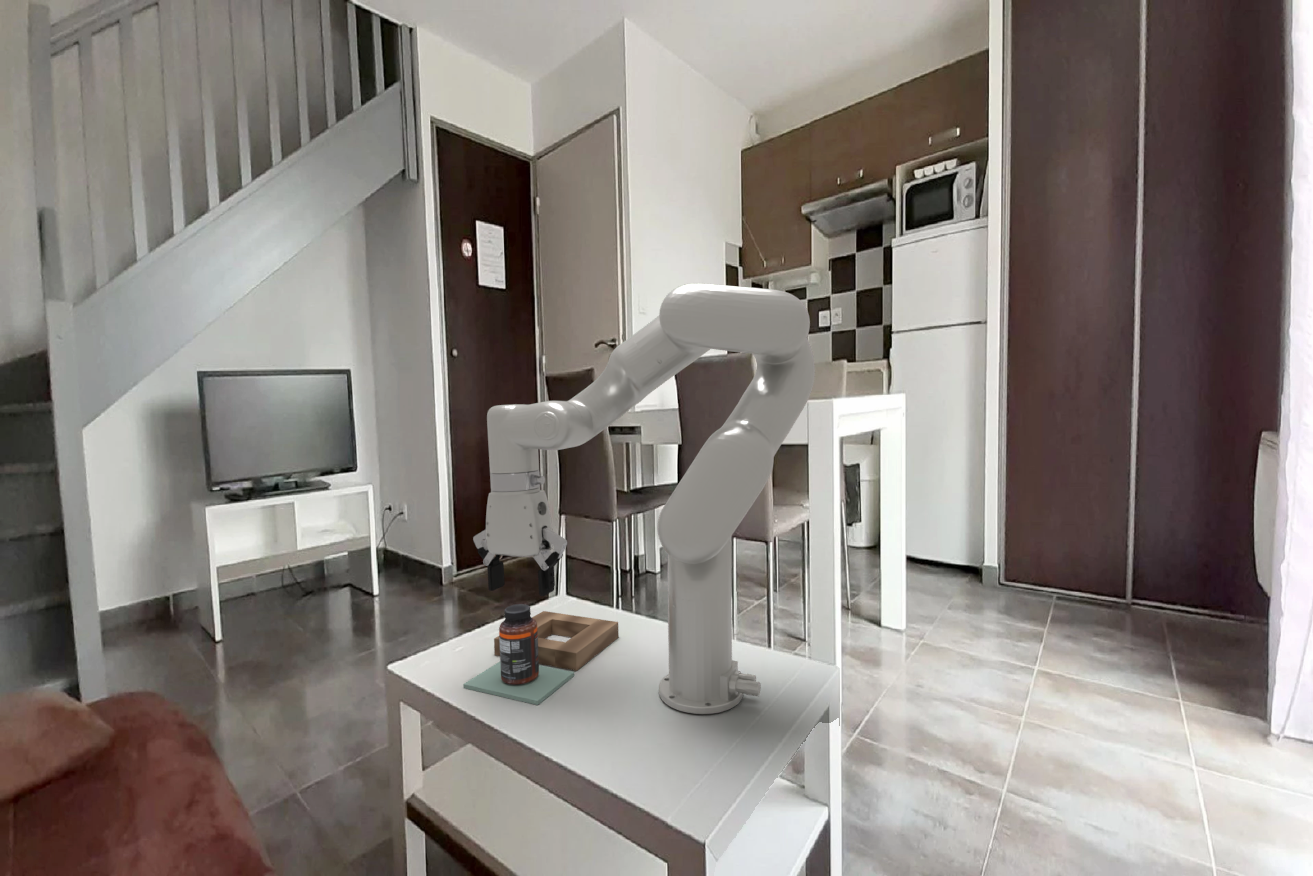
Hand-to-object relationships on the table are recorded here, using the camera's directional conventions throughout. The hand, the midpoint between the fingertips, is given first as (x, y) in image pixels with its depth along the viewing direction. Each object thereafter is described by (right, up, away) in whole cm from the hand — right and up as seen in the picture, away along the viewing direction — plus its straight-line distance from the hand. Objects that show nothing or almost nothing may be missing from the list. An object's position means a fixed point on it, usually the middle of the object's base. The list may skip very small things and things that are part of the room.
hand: (521, 590), depth 88 cm
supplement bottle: (0, -14, +1) cm, 14 cm away
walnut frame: (+3, -14, +14) cm, 20 cm away
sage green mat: (0, -15, +1) cm, 15 cm away
